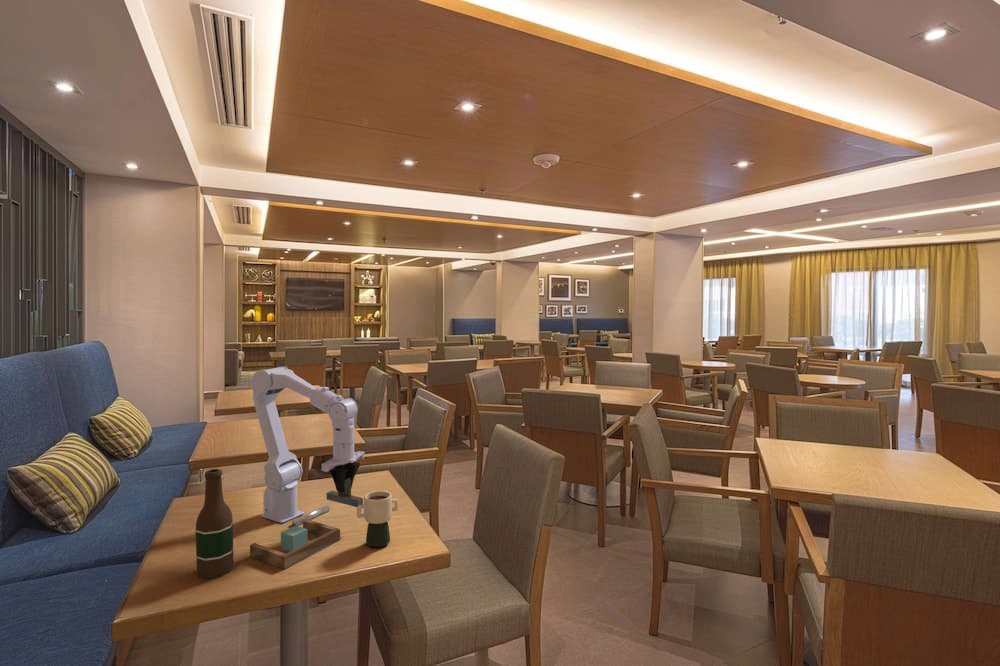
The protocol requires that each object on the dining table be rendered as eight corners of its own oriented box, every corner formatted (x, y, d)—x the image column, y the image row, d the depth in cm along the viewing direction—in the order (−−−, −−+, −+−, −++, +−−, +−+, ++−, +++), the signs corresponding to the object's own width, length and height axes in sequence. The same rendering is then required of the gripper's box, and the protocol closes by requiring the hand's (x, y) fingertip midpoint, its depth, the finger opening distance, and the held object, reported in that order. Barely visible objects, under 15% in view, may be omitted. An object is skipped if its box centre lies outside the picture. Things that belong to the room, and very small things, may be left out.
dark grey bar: (357, 507, 141) (357, 482, 141) (325, 499, 147) (325, 475, 146) (363, 504, 143) (363, 480, 143) (332, 496, 149) (332, 473, 149)
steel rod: (297, 526, 144) (296, 519, 144) (292, 526, 145) (291, 519, 145) (329, 511, 155) (328, 505, 155) (325, 511, 156) (324, 505, 156)
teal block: (281, 549, 131) (280, 532, 131) (295, 542, 135) (295, 525, 135) (293, 553, 129) (293, 536, 129) (307, 546, 133) (307, 529, 133)
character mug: (394, 534, 140) (393, 487, 139) (402, 544, 134) (402, 496, 133) (353, 542, 135) (353, 494, 134) (360, 554, 129) (360, 503, 128)
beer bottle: (209, 562, 124) (207, 465, 123) (240, 563, 124) (238, 465, 123) (188, 579, 116) (186, 475, 115) (222, 580, 116) (220, 476, 115)
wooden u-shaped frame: (250, 556, 127) (249, 544, 127) (306, 529, 142) (306, 519, 142) (285, 569, 121) (284, 557, 121) (340, 540, 136) (339, 529, 136)
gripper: (334, 450, 136) (335, 500, 137) (372, 438, 149) (372, 484, 149) (315, 446, 139) (316, 495, 140) (354, 435, 152) (354, 480, 153)
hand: (344, 489), depth 145 cm, fingers closed on dark grey bar, 2 cm apart
